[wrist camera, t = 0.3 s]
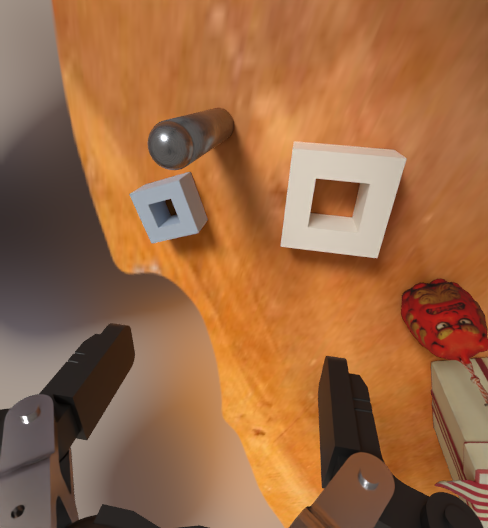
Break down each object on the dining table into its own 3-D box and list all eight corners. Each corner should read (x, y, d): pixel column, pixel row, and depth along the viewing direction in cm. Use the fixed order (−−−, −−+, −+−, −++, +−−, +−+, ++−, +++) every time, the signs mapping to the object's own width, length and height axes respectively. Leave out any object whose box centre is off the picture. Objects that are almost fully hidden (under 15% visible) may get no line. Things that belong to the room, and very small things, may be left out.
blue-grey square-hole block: (145, 184, 38) (129, 194, 35) (190, 171, 37) (178, 180, 33) (164, 230, 41) (151, 243, 37) (207, 220, 39) (198, 232, 36)
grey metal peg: (204, 106, 33) (136, 120, 20) (234, 109, 33) (186, 124, 20) (204, 139, 35) (141, 172, 21) (233, 142, 35) (188, 177, 21)
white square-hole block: (294, 141, 34) (292, 148, 30) (394, 149, 32) (406, 158, 28) (282, 230, 38) (280, 246, 34) (369, 240, 37) (377, 258, 33)
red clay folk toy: (460, 267, 37) (544, 364, 24) (470, 314, 40) (551, 424, 27) (391, 286, 40) (433, 384, 27) (405, 329, 42) (450, 437, 29)
